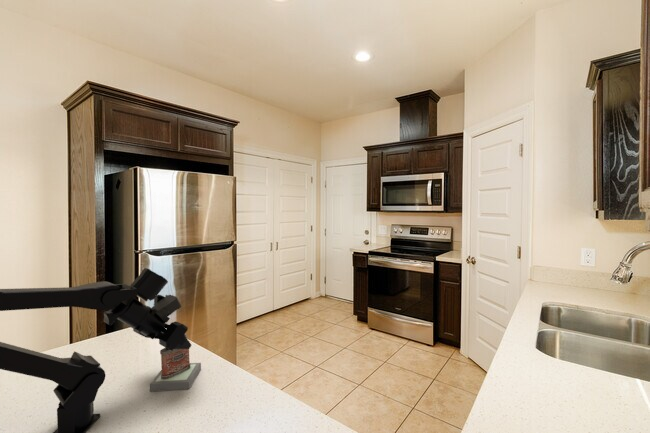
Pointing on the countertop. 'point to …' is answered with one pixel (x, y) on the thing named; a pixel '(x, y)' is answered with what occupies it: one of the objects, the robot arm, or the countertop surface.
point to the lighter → (174, 362)
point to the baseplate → (176, 380)
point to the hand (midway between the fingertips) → (180, 342)
